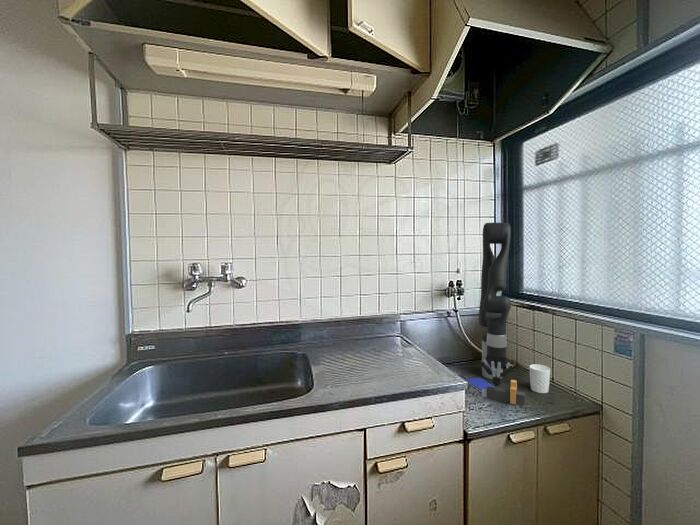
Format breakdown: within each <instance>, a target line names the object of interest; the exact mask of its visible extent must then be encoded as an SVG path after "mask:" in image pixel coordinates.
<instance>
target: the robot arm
mask: <svg viewBox="0 0 700 525" xmlns="http://www.w3.org/2000/svg"><path fill="white" fill-rule="evenodd" d="M511 231H512V228H511V224H510V223H508V222H486V223H484V225H483V227H482V263H481V264H482V265H481V266H482V267H481V277H480V300H479V302H480V303H479V310H478V323H479V325H480V326H481V327H483V328H484V327H485V328H487V332H485V333H483V334H482V335H481V360H480V362H479V363H480V365H481V376H482V377H484V378H486V379H489V380H492V385H493V386H494V387H499V386H501V380H502V379H503V378H504V377H507V375H508V374H509V373H510V372H511V371H512V370H513V369H514V364H512V363H510V362H509V359H508V357H507V355H508V349H507V348H508V345H507V343H508V342H507V340H508V339H507V321H508V316H509V314H510V311H511V307H512V301H511V299H510V298H509V297H508V296H506V295H504V296H503V295H497V294H498V293H499V292H504V291H505V290H506V289H507V268H508V260H509V255H510V254H509V253H510V245H511V238H512V237H511ZM491 244H493V245H501V248H500V252H499V253H498V254H497V256H495V255H494V253H493V251H492V247H491ZM505 367H506V369H504V370H503V368H505Z"/></svg>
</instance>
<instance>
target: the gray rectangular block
mask: <svg viewBox="0 0 700 525" xmlns="http://www.w3.org/2000/svg"><path fill="white" fill-rule="evenodd" d="M481 398H486V399H489V400H494V399H495V401H499V400H500V401H501V402H504V401H505V403H509V402H510V389H508V388H506V389H505V388H500V387H497V386H494V387H491V386H487V390H486V389H482V393H481ZM519 404H521V405H520V406H524V405H525V404H526V392H524V391H518V390H517V391H516V405H519Z"/></svg>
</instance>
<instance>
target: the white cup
mask: <svg viewBox="0 0 700 525" xmlns="http://www.w3.org/2000/svg"><path fill="white" fill-rule="evenodd" d="M550 377H551V368H550V367H549V366H547V365H543V364H536V363H535V364H530V365H529V381H530V382H529V384H530V389H531V390H532V391H533V392H536V393H538V394H539V393H540V394H548V392H549V391H550V390H549V389H550V380H551V379H550Z"/></svg>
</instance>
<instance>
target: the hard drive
mask: <svg viewBox="0 0 700 525" xmlns="http://www.w3.org/2000/svg"><path fill="white" fill-rule="evenodd" d="M465 380H466V381H467V382H469V384H470V385H469V384H468V385H469V386H471V385H472V386H473V388H474V387H475V388H476V389H475V388H474V389H475V390H477V391H478V390H479V391H478V392H480V393H481V392H482V389H486V390H487V386H491V387H495V386H494V384H491V383H489V382H488V381H486V380H484V378H481V377H476V378H475V377H474V378H468V379H465ZM467 382H466V383H467ZM472 386H471V387H472Z"/></svg>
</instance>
